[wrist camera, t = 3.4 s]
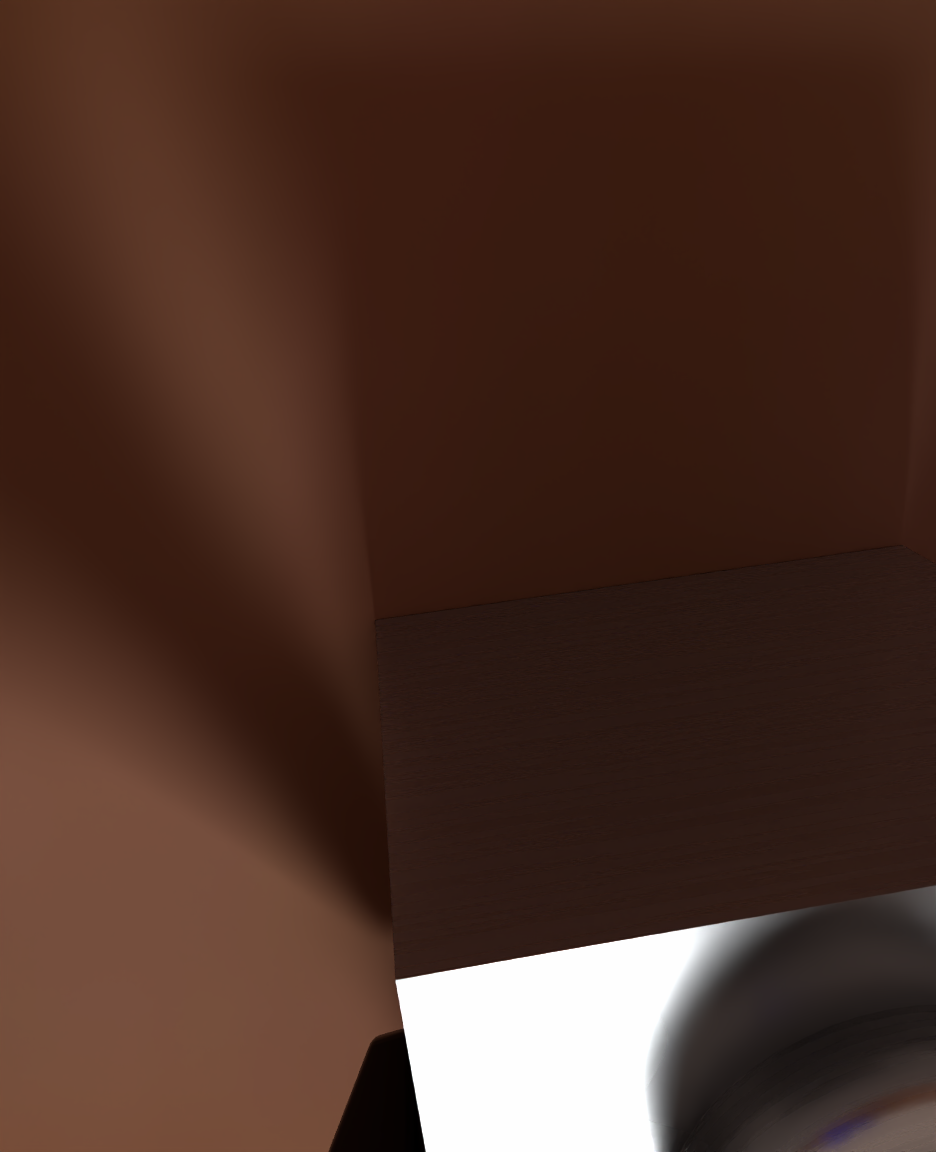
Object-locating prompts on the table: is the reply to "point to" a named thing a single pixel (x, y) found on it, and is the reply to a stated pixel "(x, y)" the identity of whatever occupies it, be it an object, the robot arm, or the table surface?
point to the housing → (670, 861)
